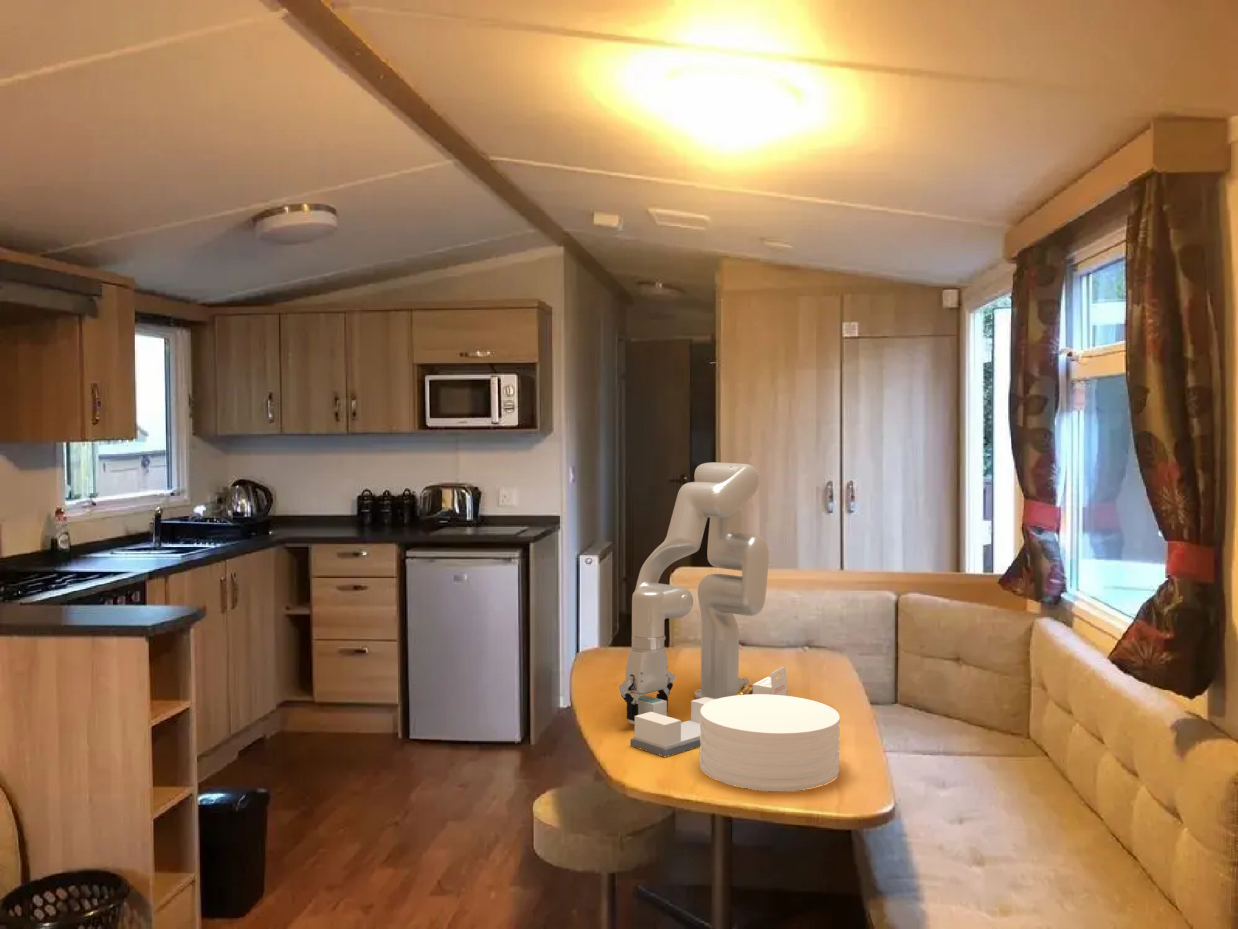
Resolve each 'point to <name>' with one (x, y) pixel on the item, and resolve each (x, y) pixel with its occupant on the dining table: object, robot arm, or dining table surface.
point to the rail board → (668, 731)
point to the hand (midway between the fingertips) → (647, 716)
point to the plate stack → (769, 742)
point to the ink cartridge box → (772, 684)
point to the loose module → (650, 706)
